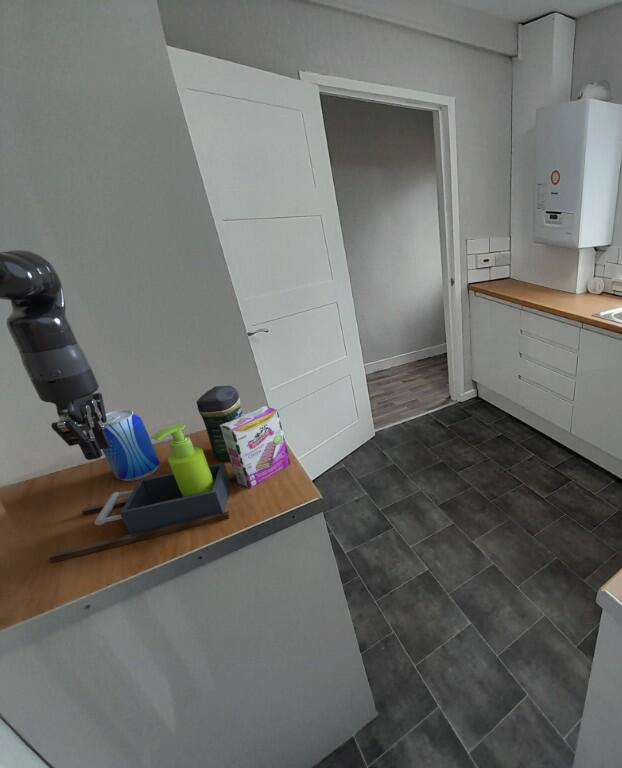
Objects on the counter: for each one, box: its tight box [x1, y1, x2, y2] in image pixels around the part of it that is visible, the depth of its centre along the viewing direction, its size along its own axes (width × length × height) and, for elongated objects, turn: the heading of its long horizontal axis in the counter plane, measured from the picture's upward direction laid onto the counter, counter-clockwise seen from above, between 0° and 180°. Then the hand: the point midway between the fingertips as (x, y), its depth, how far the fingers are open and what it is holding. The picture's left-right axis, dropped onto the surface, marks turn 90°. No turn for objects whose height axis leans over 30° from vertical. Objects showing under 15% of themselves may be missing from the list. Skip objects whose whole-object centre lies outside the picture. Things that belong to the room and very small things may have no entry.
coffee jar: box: [196, 385, 244, 463], centre depth 105 cm, size 10×8×19 cm
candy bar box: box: [220, 405, 291, 490], centre depth 97 cm, size 11×5×16 cm, turn 154°
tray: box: [94, 462, 232, 535], centre depth 87 cm, size 20×12×6 cm, turn 115°
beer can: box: [101, 409, 161, 482], centre depth 97 cm, size 8×8×16 cm
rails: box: [48, 475, 237, 563], centre depth 87 cm, size 28×15×1 cm, turn 115°
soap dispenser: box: [150, 423, 214, 498], centre depth 86 cm, size 6×7×20 cm
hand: (98, 452), depth 78 cm, fingers open, 3 cm apart
